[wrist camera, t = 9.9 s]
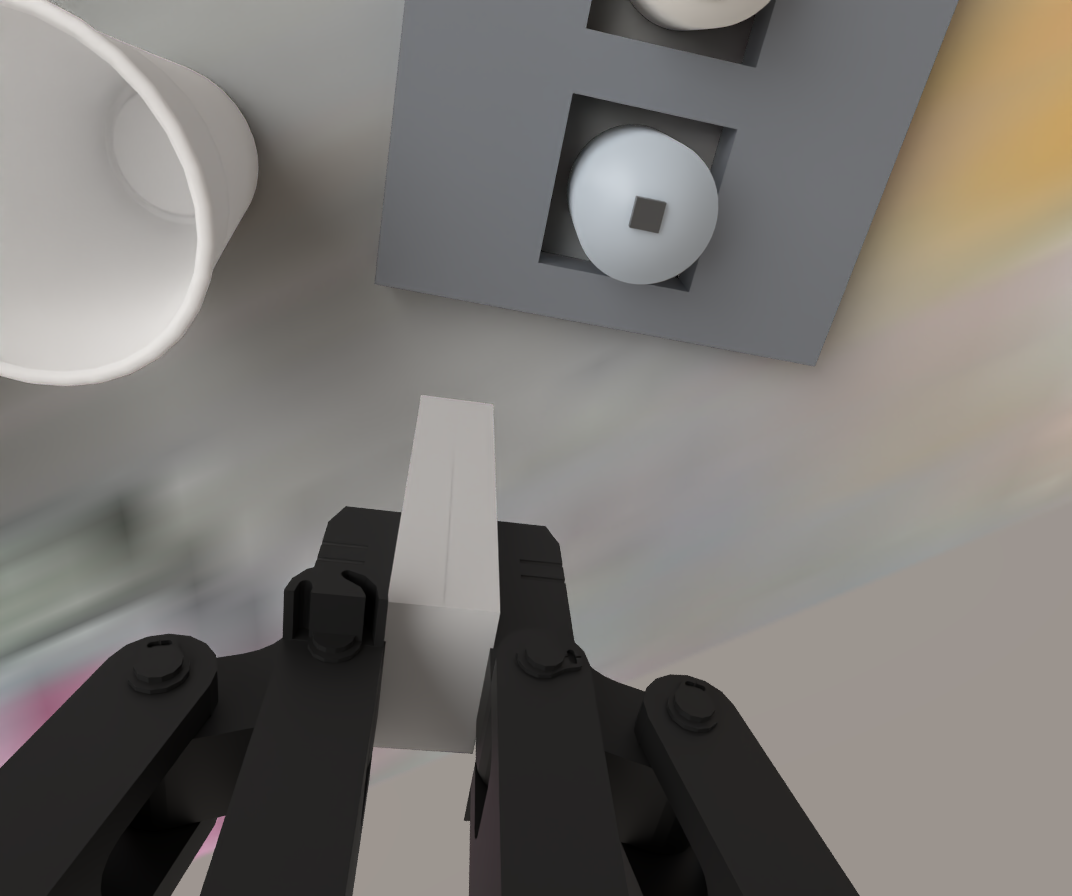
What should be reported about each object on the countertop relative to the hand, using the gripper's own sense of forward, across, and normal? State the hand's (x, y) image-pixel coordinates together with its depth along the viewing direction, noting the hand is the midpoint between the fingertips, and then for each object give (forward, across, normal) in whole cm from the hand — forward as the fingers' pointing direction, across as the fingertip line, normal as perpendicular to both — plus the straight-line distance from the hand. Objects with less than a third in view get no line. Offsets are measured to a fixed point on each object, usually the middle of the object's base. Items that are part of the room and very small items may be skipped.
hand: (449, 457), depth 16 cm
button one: (+16, +6, +4) cm, 17 cm away
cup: (+17, -11, +2) cm, 21 cm away
